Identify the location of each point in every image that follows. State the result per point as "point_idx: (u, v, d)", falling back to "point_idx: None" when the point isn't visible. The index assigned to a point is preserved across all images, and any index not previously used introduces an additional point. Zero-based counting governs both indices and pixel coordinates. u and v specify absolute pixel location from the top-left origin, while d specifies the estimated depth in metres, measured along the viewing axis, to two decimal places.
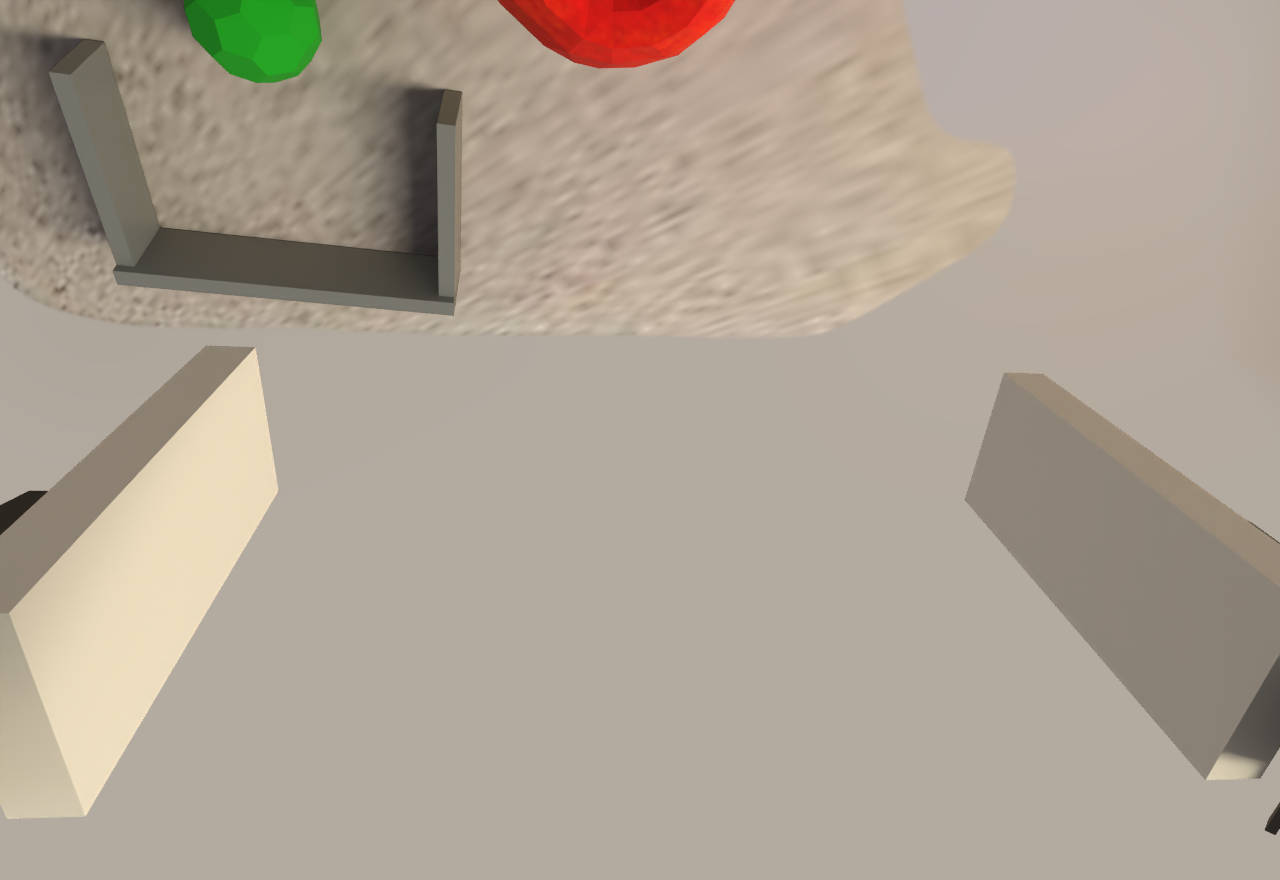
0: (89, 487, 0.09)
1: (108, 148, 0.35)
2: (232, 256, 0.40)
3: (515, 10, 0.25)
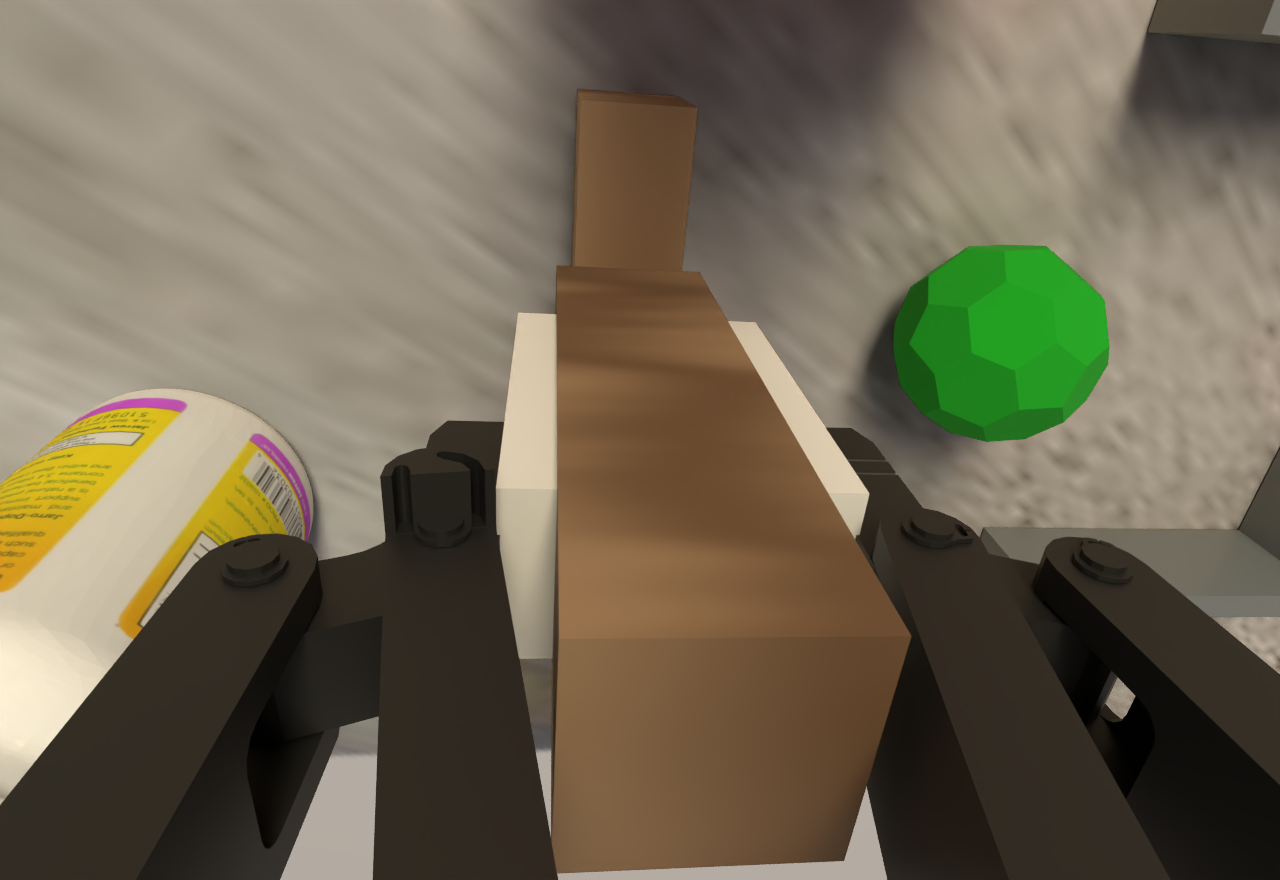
0: (532, 411, 0.11)
1: None
2: None
3: None
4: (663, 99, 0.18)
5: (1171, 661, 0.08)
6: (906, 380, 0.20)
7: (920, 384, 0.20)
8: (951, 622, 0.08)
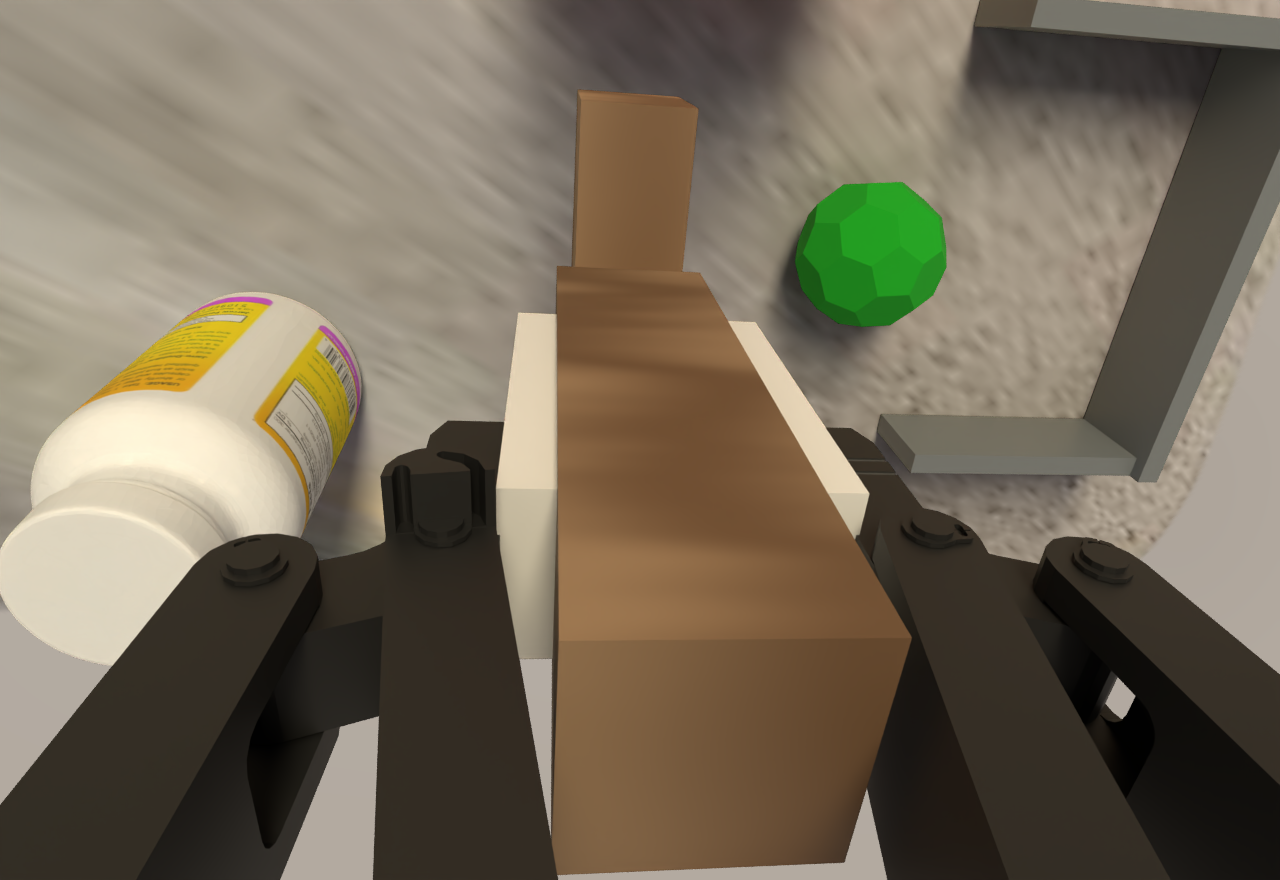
0: (532, 411, 0.11)
1: (992, 443, 0.31)
2: (1147, 348, 0.31)
3: None
4: (663, 99, 0.18)
5: (1171, 661, 0.08)
6: (804, 283, 0.27)
7: (812, 284, 0.27)
8: (951, 622, 0.08)
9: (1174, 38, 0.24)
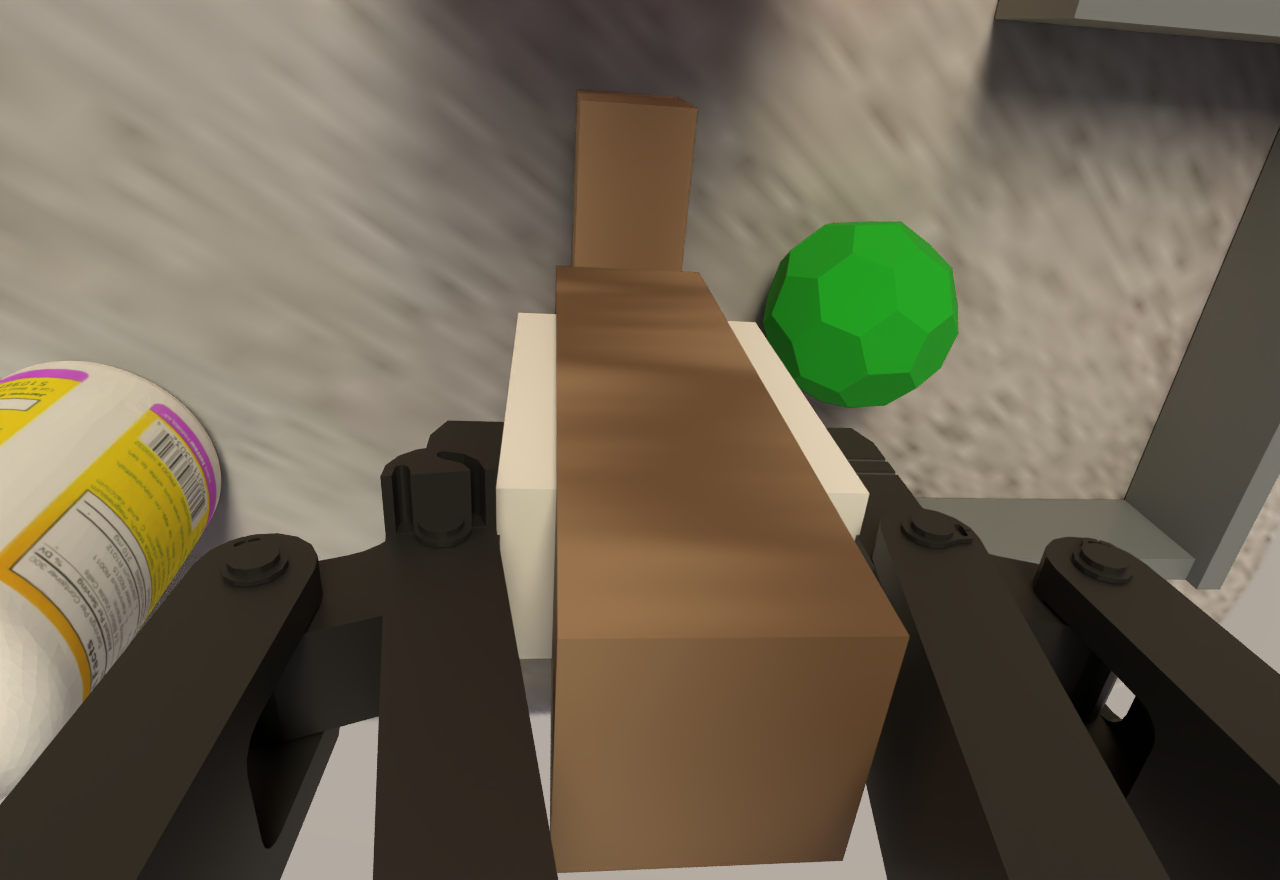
0: (532, 412, 0.11)
1: (1014, 539, 0.25)
2: (1209, 422, 0.24)
3: None
4: (663, 99, 0.18)
5: (1171, 661, 0.08)
6: (775, 350, 0.21)
7: (784, 353, 0.21)
8: (951, 622, 0.08)
9: (1267, 33, 0.18)
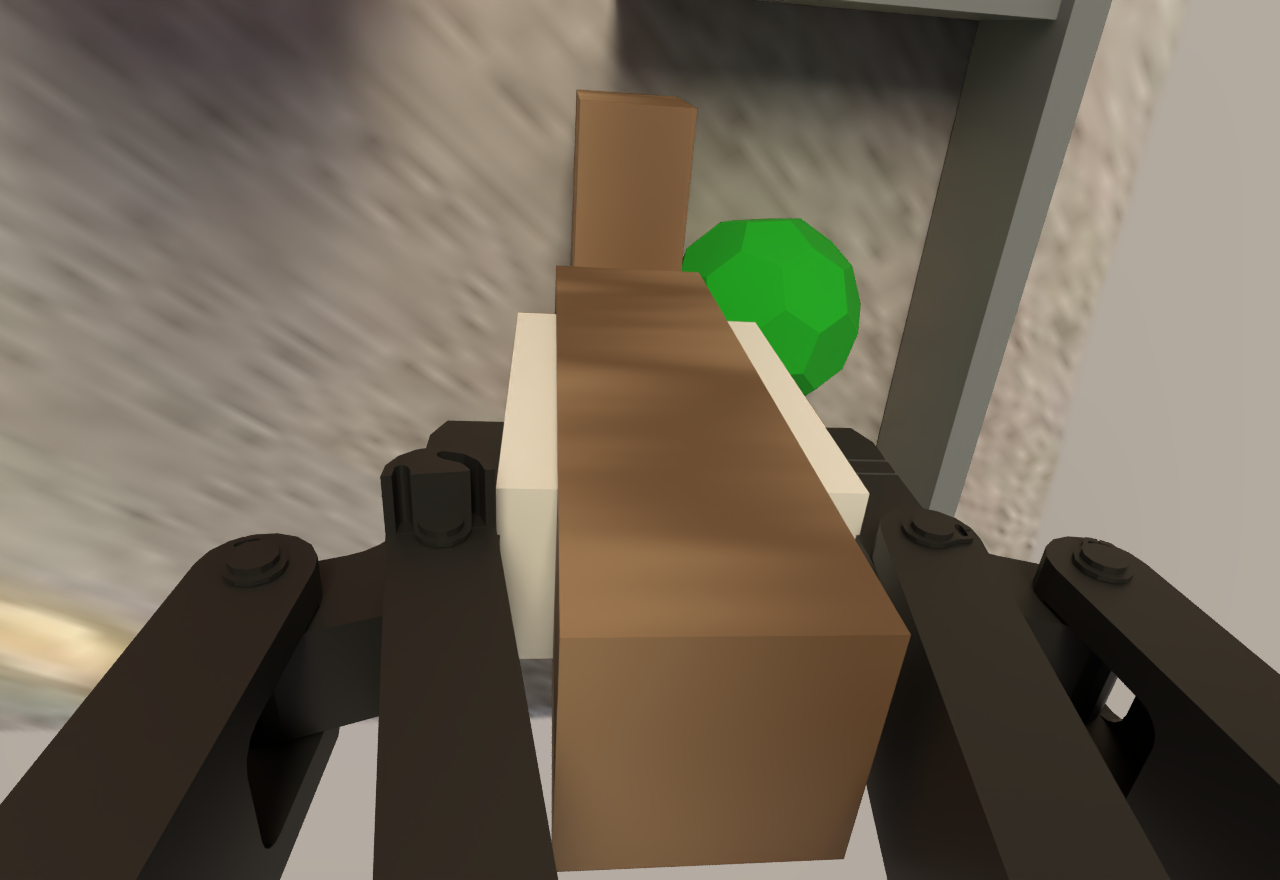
0: (532, 411, 0.11)
1: None
2: (912, 422, 0.23)
3: None
4: (662, 99, 0.18)
5: (1171, 661, 0.08)
6: None
7: None
8: (951, 622, 0.08)
9: None
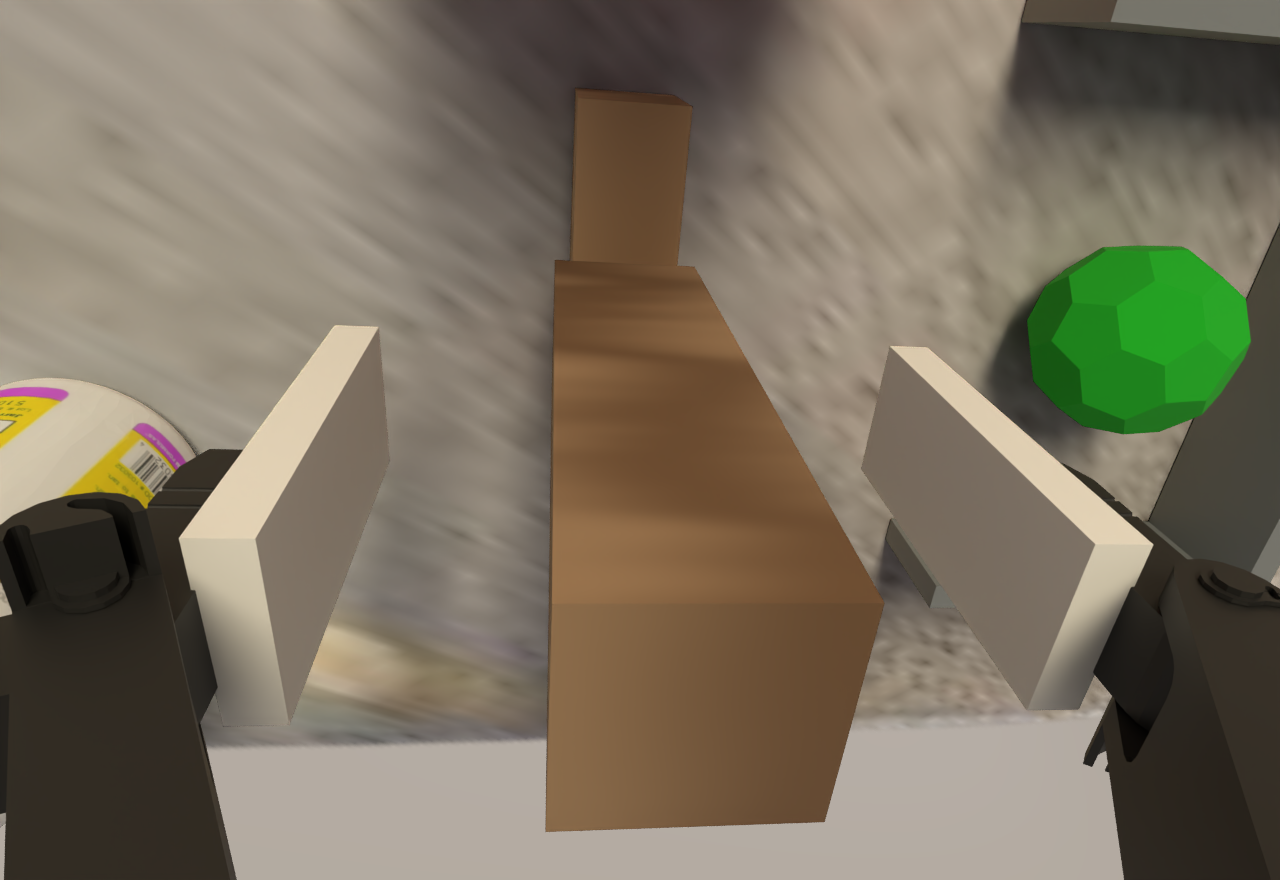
0: (281, 442, 0.10)
1: None
2: (1241, 444, 0.23)
3: None
4: (659, 98, 0.18)
5: None
6: (1042, 376, 0.21)
7: (1059, 380, 0.21)
8: (1248, 678, 0.08)
9: None
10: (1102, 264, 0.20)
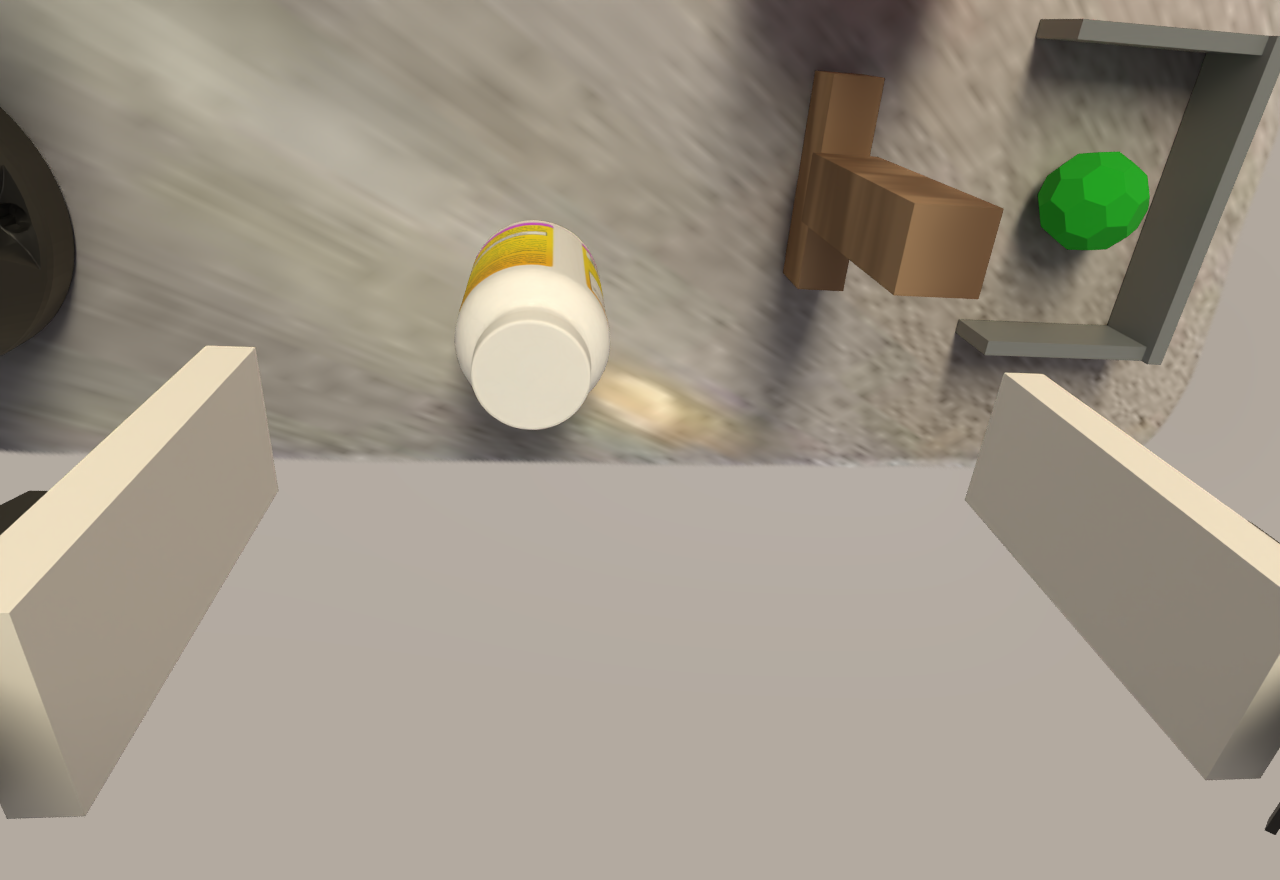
0: (89, 487, 0.09)
1: (1042, 336, 0.43)
2: (1154, 267, 0.43)
3: None
4: None
5: None
6: (1045, 221, 0.41)
7: (1054, 221, 0.40)
8: None
9: (1172, 46, 0.36)
10: (1076, 160, 0.39)
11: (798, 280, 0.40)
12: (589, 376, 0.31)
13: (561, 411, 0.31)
